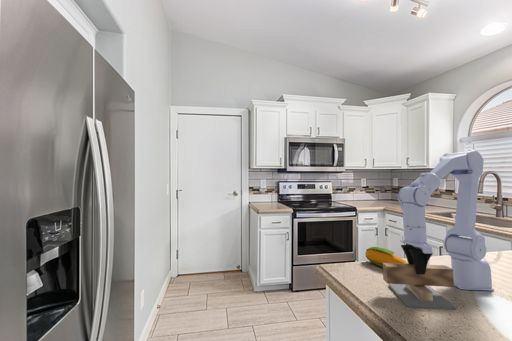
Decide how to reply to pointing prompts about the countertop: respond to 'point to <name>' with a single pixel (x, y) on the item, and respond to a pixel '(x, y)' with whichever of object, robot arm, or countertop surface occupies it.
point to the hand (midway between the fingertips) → (417, 271)
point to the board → (413, 301)
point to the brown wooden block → (418, 275)
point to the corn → (382, 256)
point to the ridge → (421, 292)
